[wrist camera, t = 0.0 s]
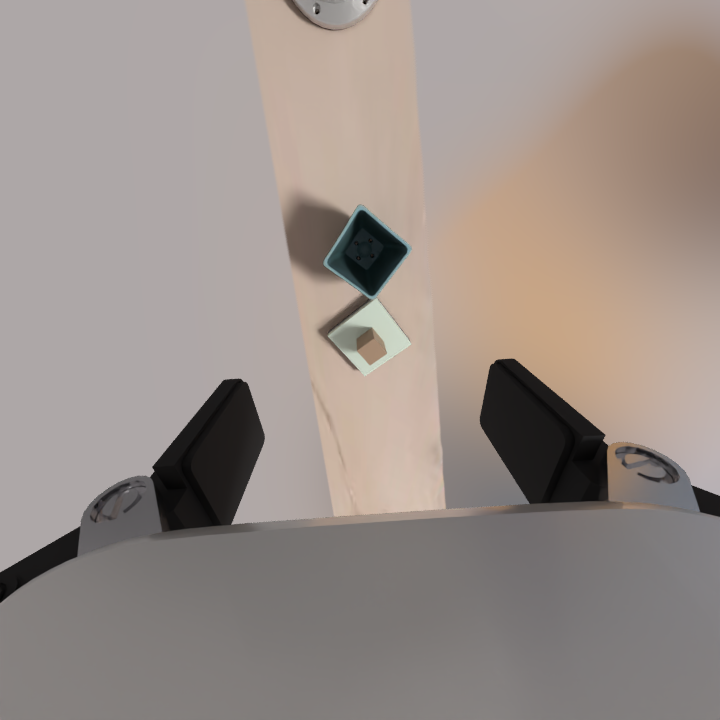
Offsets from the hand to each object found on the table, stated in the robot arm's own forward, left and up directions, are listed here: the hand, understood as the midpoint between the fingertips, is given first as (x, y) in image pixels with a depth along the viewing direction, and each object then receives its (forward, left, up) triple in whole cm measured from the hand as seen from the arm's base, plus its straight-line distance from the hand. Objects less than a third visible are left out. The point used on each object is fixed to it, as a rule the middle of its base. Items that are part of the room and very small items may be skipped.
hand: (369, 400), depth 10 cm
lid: (+12, -6, -36) cm, 39 cm away
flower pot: (-1, +2, -38) cm, 38 cm away
